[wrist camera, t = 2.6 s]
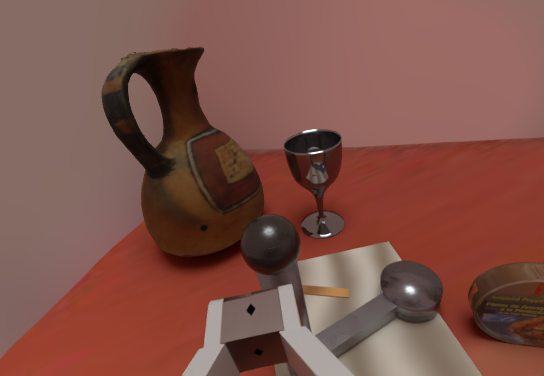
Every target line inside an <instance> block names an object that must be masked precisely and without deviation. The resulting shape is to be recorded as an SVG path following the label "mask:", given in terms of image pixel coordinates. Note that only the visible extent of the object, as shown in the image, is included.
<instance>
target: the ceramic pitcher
mask: <svg viewBox="0 0 544 376" xmlns="http://www.w3.org/2000/svg"><path fill="white" fill-rule="evenodd" d="M203 52H204V48H202V47H197V48H190V47H189V48H186V49H170V50H158V51H152V52H146V53H145V52H144V53H137V54H136V52H134V53H135V54H131V53H130V54H128V55H127V56H126V57H125V58H121V61H120V63H119V64H118V65H117V66H116V67H115V68H114V69H113V70H112V71H111V72H110V74H109V75H108V77H107V78H106V80H105V83H104V85H103V88H102V103H103V108H104V111H105V114H106V117H107V119H108V121H109V123H110V125H111V127H112V129H113V131H114V132H115V134H116V136H117V137H118V138H119V139H120V140H121V141H122V143H123V144H124V145H125V146H126V147H127V149H128V150H129V151H130V152H131V153H132V154H133V155H134V156H135V158H136V159H137V160H138V161H139V162H140V163H141V164H142V165H143V167H144V168H145V169H146V171H145V174H144V179H143V184H142V192H141V205H142V211H143V216H144V220H145V223H146V227H147V229H148V231H149V233H150V235H151V236H152V238H153V240H154V241H155V243H156V244H157V246H158V247H159V248H160V249H162V250H163V251H165V252H167V253H170V254H174V255H177V256H181V257H192V256H202V255H208V254H212V253H215V252H218V251H220V250H223V249H226V248H228V247H229V246H231V245H233V244H234V243H236V242H238V241H239V240H240V239H241V237H242V234H243V232H244V230H245V228H246V226H247V225H248V224H249V223H250V222H251V221H252V220H254V219H255V218H257V217H259V216H262V213H263V206H264V194H263V188H262V183H261V181H260V178H259V175H258V173H257V171H256V169H255V167H254V165H253V163H252V161H251V160H250V158H249V156H248V155H247V154H246V153H245V151H244V150H243V149H242V148H241V147H240V146H239V145H238V144H237V143H236V142H235V141H234V140H233V139H231V138H230V137H229V136H228V135H226V134H225V133H224V132H222V131H220V130H218V129H215V128H214V127H212V126H211V125H210V124H209V122H208V120H207V119H206V117H205V115H204V114H203V112H202V110H201V107H200V105H199V99H198V92H197V88H196V84H195V80H194V72H195V69H196V66H197V63H198V61H199V59H200V58H201V56H202V54H203ZM133 73H137V74H139V75H141V76H142V77H143V78H144V79H145V80H146V81H147V82H148V83H149V85H150V86H151V88H152V89H153V91H154V93H155V95H156V97H157V100H158V103H159V106H160V109H161V113H162V117H163V126H164V129H163V130H164V131H163V137H162V141H161V142H160V144H159V145H158V146H157V147H156V148H154V147H153V146H152V145H151V144H150V143H149V142H148V141H147V139H146V138H145V137H144V135H143V134H142V132H141V131H140V129H139V127H138V125H137V122H136V120H135V118H134V115H133V113H132V110H131V107H130V103H129V96H128V83H129V80H130V77H131V75H132V74H133Z"/></svg>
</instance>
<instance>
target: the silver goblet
mask: <svg viewBox="0 0 544 376" xmlns="http://www.w3.org/2000/svg"><path fill="white" fill-rule="evenodd" d="M284 150H285V156H286V160H287V164H288V166H289V169H290V172H291V174H292V176H293V178H294V179H295V181H296V182H297V183H298V184H299V185H301V186H302V187H304V188H305V189H307V190H308V191H310V192H311V193H312V194H313V195H314V197H315V200H316V203H317V206H318V211H315V212H312V213H310V214H308V215H307V216H306V217H305V218H304V219H303V220H302V223H301V228H302V230H303V232H304V233H305V234H307V235H308V236H310V237H313V238H321V239H323V238H329V237H332V236H335V235H337V234H338V233H340V232H341V231H342V229H343V228H344V219H343V218H342V217H341V216H340V215H339V214H338V213H336V212H333V211H328V210H323V196H324V193H325V191H326V190H327V189H328V188H329V186H330V185H331V184H332V183H333V182H334V181H335V180H336V178H337V177H338V175H339V172H340V168H341V162H342V140H341V135H340V134H339V133H338V132H336V131H332V130H326V129H317V130H309V131H304V132H301V133H298V134H296V135H293V136H291V137H290V138H288V139H287V140H286V141H285V143H284Z"/></svg>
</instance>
